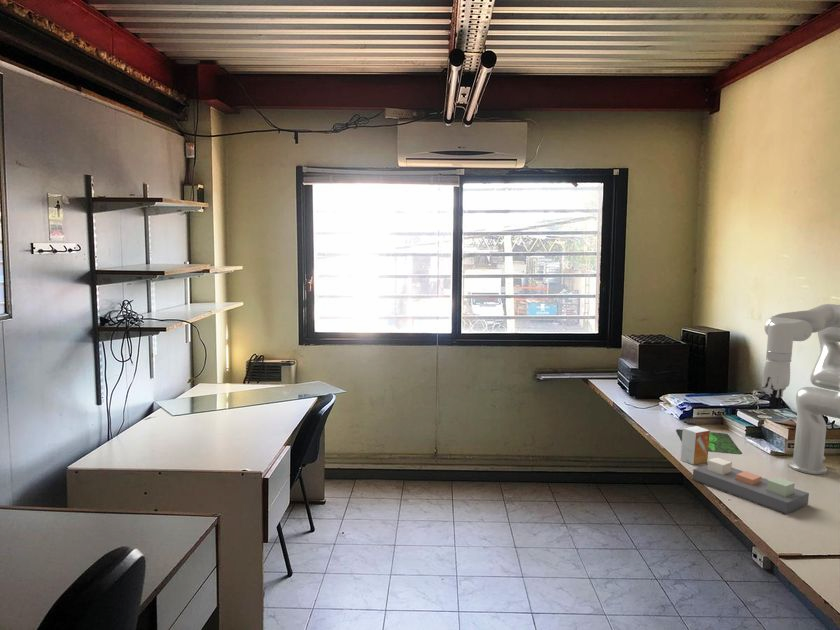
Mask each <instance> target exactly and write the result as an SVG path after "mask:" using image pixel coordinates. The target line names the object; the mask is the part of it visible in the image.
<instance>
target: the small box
mask: <svg viewBox="0 0 840 630" xmlns="http://www.w3.org/2000/svg"><path fill="white" fill-rule="evenodd" d="M682 430H683V433H682V441H681V449H680V458H679V459H680V461H683V462H685V463H687V464H690V465H693V466H695V465H698V464H704V463H705V464H706V463H708V460H709V457H708V456H709V452H708V448H709V436H710V432H711V430H709V429H707V428H705V427H701V426H698V425H695V426H689V427H683V428H682Z"/></svg>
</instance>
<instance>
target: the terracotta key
mask: <svg viewBox="0 0 840 630" xmlns="http://www.w3.org/2000/svg"><path fill="white" fill-rule="evenodd" d="M743 471H744V470H743ZM761 477H762V476H760V475H758V474H755V473H753V472H752V473H751V472H749V471H746V470H745V471H744V472H741V473H739V474H736V480H738V481H741V482H743V483H746V484H749V485H752V486H753V485H756V484H758V483H761Z"/></svg>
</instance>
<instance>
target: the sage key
mask: <svg viewBox="0 0 840 630" xmlns="http://www.w3.org/2000/svg"><path fill="white" fill-rule="evenodd" d="M794 488H795V482H793V481H790V480H788V479H784V478H782V477H778V476H775V477H773V478H770V479H768V487H767V491H769V492H772V493H775V494H778V495H781V496H784V497H787V496H790V495H792V494H794Z"/></svg>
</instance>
